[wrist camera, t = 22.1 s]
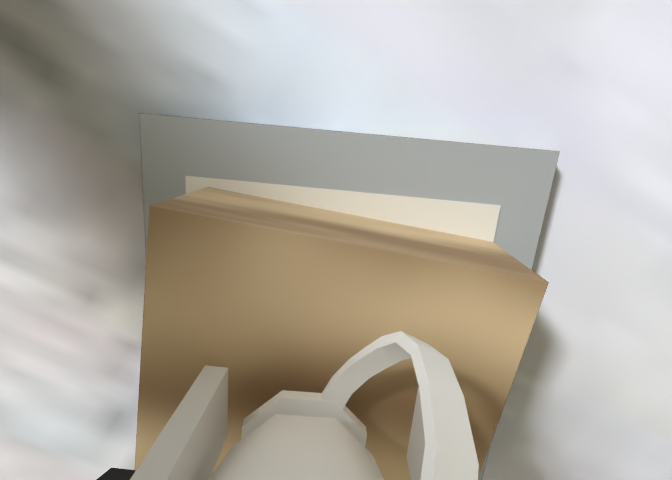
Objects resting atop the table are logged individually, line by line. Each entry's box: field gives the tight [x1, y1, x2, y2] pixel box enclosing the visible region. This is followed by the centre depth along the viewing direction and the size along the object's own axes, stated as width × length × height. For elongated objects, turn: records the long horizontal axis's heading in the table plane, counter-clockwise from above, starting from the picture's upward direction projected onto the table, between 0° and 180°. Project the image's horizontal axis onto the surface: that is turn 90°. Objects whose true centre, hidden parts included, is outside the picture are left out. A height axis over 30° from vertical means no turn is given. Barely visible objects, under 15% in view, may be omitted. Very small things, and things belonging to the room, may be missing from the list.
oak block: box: [135, 187, 549, 480], centre depth 16 cm, size 11×13×5 cm
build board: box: [139, 113, 560, 480], centre depth 19 cm, size 18×18×1 cm
